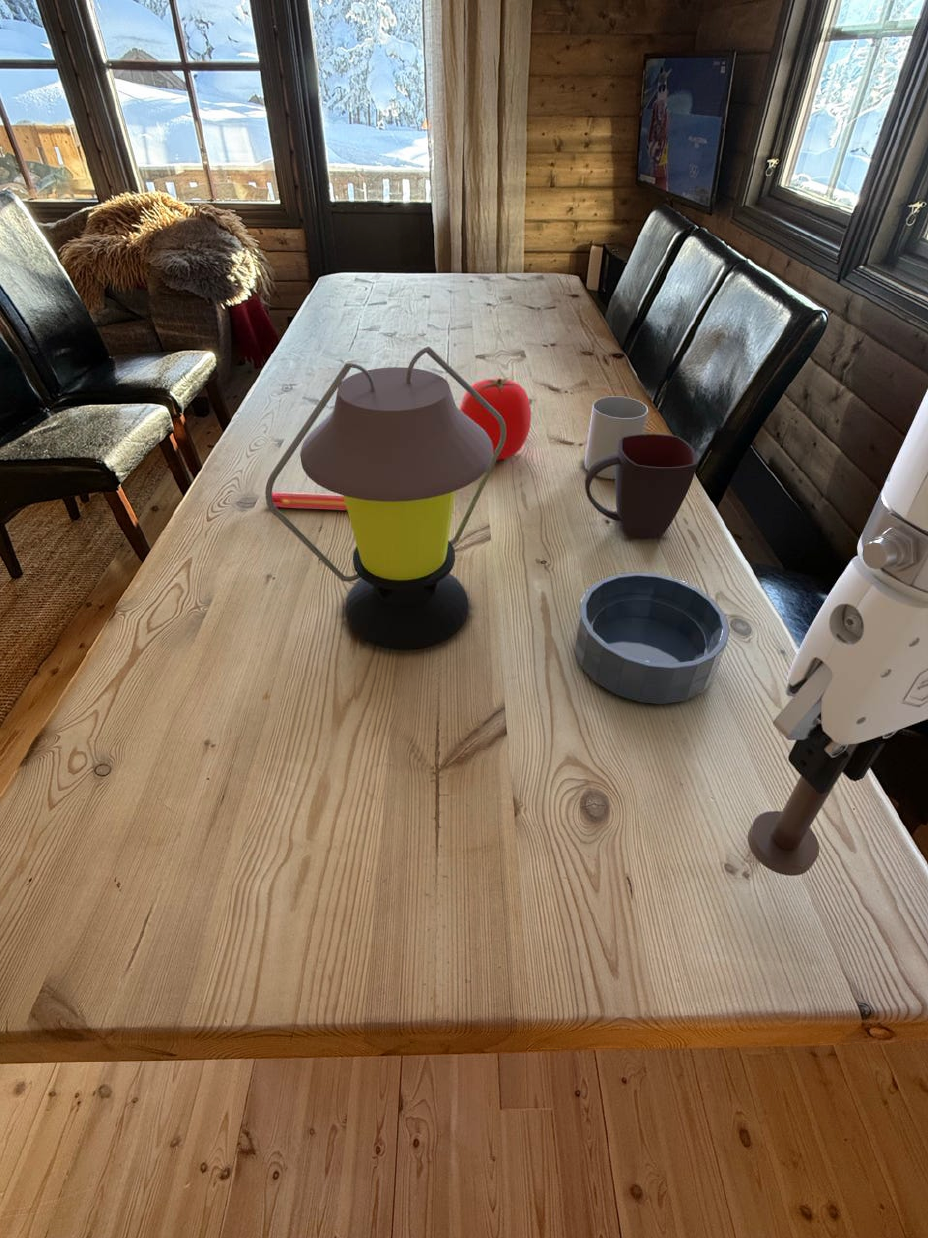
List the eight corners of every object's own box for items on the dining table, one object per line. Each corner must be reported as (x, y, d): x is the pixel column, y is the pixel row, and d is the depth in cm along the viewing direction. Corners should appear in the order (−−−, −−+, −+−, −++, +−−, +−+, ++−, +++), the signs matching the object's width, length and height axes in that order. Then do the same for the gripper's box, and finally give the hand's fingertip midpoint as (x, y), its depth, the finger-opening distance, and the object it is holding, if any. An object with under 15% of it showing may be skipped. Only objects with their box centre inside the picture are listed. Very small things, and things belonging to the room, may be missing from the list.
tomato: (541, 462, 108) (549, 386, 100) (478, 476, 104) (480, 399, 96) (506, 432, 116) (510, 359, 108) (446, 444, 113) (445, 370, 104)
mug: (685, 547, 90) (707, 467, 82) (585, 549, 89) (598, 470, 81) (664, 508, 97) (683, 432, 90) (572, 511, 97) (582, 434, 89)
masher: (815, 832, 51) (896, 700, 42) (812, 886, 48) (899, 756, 38) (751, 810, 53) (814, 678, 43) (743, 861, 50) (810, 730, 40)
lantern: (294, 672, 71) (233, 403, 52) (306, 567, 86) (262, 326, 66) (520, 656, 73) (544, 392, 54) (494, 556, 88) (506, 320, 68)
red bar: (276, 502, 99) (266, 509, 95) (275, 488, 98) (265, 494, 94) (435, 509, 98) (431, 517, 94) (435, 495, 97) (431, 502, 93)
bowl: (723, 634, 77) (738, 594, 73) (701, 728, 66) (717, 686, 62) (595, 598, 81) (602, 559, 77) (555, 680, 71) (561, 639, 67)
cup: (596, 450, 112) (605, 392, 105) (643, 462, 108) (655, 403, 102) (576, 470, 106) (584, 410, 99) (625, 484, 103) (636, 423, 96)
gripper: (889, 627, 28) (764, 857, 40) (1142, 548, 32) (960, 778, 44) (767, 535, 33) (690, 762, 45) (998, 478, 37) (870, 700, 49)
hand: (824, 768), depth 44 cm, fingers closed on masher
